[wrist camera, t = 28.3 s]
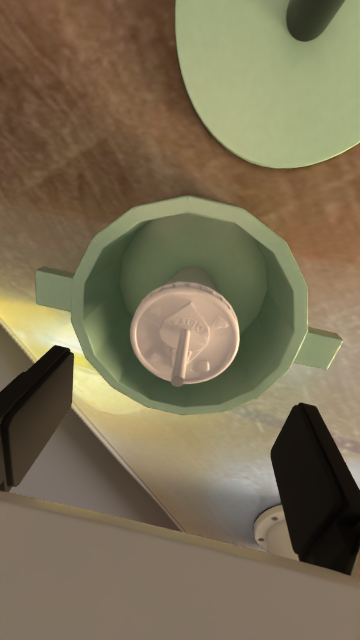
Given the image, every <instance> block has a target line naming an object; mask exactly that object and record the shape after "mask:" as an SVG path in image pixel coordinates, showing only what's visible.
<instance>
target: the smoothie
mask: <svg viewBox="0 0 360 640" xmlns="http://www.w3.org/2000/svg"><path fill="white" fill-rule="evenodd" d="M130 340H131V345H132V348H133V350H134V353H135V355H136V357H137V358H138V360H139V361H140V362H141V363H142V365H143V366H144V367H145V368H146V369H148V370H149V371H150V372H151V373H153V374H154V375H156V376H158V377H160V378H162V379H164V380H167V381H170V382H171V383H172V385H174V386H177V387H179V386H182V385H183V384H193V383H200V382H204V381H207V380H210V379H212V378H214V377H216V376H218V375H219V374H220V373H222V372H223V371H224V370H225V369H226V368H227V367H228V366H229V365H230V364H231V363H232V361H233V359H234V358H235V356H236V353H237V351H238V347H239V326H238V320H237V317H236V315H235V313H234V310H233V308H232V306H231V305H230V304H229V303H228V302H227V301H226V299H225V298H224V297H223V296H222V295H220V294H219V293H218V291H217V289H216V287H215V285H214V283H213V281H212V279H211V278H210V276H209V275H208V274H207V273H206V272H205V271H204V270H202V269H200V268H196V267H188V268H185V269H183V270H181V271H179V272H178V273H177V274H176V275H175V276H174V277H173V278H172V279H171V280H170V281H169V282H168V283H167V284H166V285H163V286H161V287H159V288H157V289H155V290H153V291H152V292H151V293H149V294H148V295H147V296H146V297H145V298H144V299H143V300H142V301H141V303H140V305H139V306H138V308H137V310H136V311H135V315H134V317H133V319H132V322H131V327H130Z"/></svg>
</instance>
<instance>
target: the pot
mask: <svg viewBox="0 0 360 640" xmlns="http://www.w3.org/2000/svg"><path fill="white" fill-rule="evenodd" d="M188 267H196V268H200V269H202V270H204V271H205V272H206V273H207V274H208V275H209V276H210V278H211V279H212V281H213V283H214V285H215V287H216V289H217V291H218V293H219V294H220V295H222V296H223V297H224V298H225V299H226V301H227V302H228V303H229V304H230V305H231V306H232V308H233V310H234V313H235V315H236V317H237V320H238V326H239V347H238V351H237V353H236V356H235V358H234V359H233V361H232V363H231V364H230V365H229V366H228V367H227V368H226V369H225V370H224V371H223V372H222V373H220V374H219V375H218V376H216V377H214V378H212V379H210V380H207V381H204V382H200V383H193V384H183V385H182V386H179V387H177V386H174V385H172V383H171V382H170V381H167V380H164V379H162V378H160V377H158V376H156V375H154V374H153V373H151V372H150V371H149V370H148V369H146V368H145V367H144V366H143V365H142V363H141V362H140V361H139V360H138V358H137V357H136V355H135V353H134V350H133V348H132V345H131V340H130V327H131V322H132V319H133V317H134V315H135V311H136V310H137V308H138V306H139V305H140V303H141V301H142V300H143V299H144V298H145V297H146V296H147V295H148V294H149V293H151V292H152V291H153V290H155V289H157V288H159V287H161V286H163V285H166V284H167V283H168V282H169V281H170V280H171V279H172V278H173V277H174V276H175V275H176V274H177V273H178V272H179V271H181V270H183V269H185V268H188ZM35 281H36V304H38V305H43V306H47V307H52V308H56V309H60V310H65V311H69V312H71V322H72V325H73V328H74V330H75V333H76V335H77V338H78V340H79V343H80V345H81V348H82V350H83V353H84V355H85V358H86V359H87V360H88V361H89V362H90V363H91V365H92V366H93V367H94V368H95V369H96V370H97V371H98V372H99V373H100V375H101V376H102V377H103V378H104V379H105V380H106V381H107V382H108V383H109V385H110V386H111V387H113V388H114V389H116V390H118V391H119V392H121V393H123V394H124V395H126V396H128V397H130V398H131V399H133V400H135V401H137V402H138V403H140V404H142V405H144V406H146V407H148V408H153V409H157V410H162V411H166V412H171V413H175V414H179V415H195V414H209V413H222V412H225V411H227V410H229V409H232V408H234V407H237V406H239V405H242V404H244V403H247V402H249V401H252V400H254V399H257V398H258V397H260V396H261V395H262V394H263V393H264V392H266V391H267V390H268V389H269V388H270V387H271V386H272V385H273V384H274V383H276V382H277V381H278V380H279V379H280V378H281V377H282V376H283V375H285V374H286V373H287V372H288V370H290V367H291V365H292V363H293V362H294V363H298V364H303V365H307V366H311V367H316V368H320V369H325V370H327V369H328V367H329V365H330V364H331V362H332V360H333V358H334V356H335V355H336V353H337V351H338V349H339V347H340V346H341V344H342V342H343V340H342V338H341V337H340V336H339V335H338V334H337V333H333V332H328V331H324V330H320V329H315V328H311V327H308V287H307V284H306V282H305V280H304V278H303V276H302V274H301V271H300V269H299V267H298V265H297V263H296V261H295V259H294V257H293V255H292V253H291V251H290V249H289V247H288V245H287V243H286V241H285V240H283V239H282V238H281V237H279V236H278V235H277V234H276V233H274V232H273V231H272V230H270V229H269V228H268V227H267V226H265V225H264V224H263V223H262V222H260V221H259V220H258V219H256V218H255V217H254V216H253V215H251V214H250V213H249V212H247V211H246V210H245V209H244V208H241V207H238V206H235V205H233V204H230V203H226V202H221V201H217V200H213V199H208V198H204V197H199V196H181V197H176V198H171V199H167V200H162V201H157V202H152V203H148V204H143V205H138V206H134V207H132V208H131V209H129V210H128V211H127V212H125V213H124V214H123V215H121V216H120V217H119V218H117V219H116V220H115V221H114V222H112V223H111V224H110V225H108V226H107V227H106V228H104V229H103V230H102V231H100V232H99V233H98V234H97V235H95V236H94V237H93V238H92V240H91V242H90V244H89V246H88V248H87V250H86V252H85V254H84V256H83V258H82V260H81V262H80V264H79V266H78V268H77V270H76V272H75V273H70V272H66V271H62V270H57V269H53V268H48V267H41V268H39V269H37V270H35Z"/></svg>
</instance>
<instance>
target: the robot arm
mask: <svg viewBox="0 0 360 640" xmlns="http://www.w3.org/2000/svg"><path fill="white" fill-rule="evenodd" d="M73 366H74V354H73V353H72V352H70V349H69V348H66V347H61V346H57V345H55V346H53V347H52V348H51V349H50V350H49V351H48V352H47V353H46V354H45V355H43V356H42V357H41V358H40V359H39V360H38V361H37V362H36V363H35V364H34V365H33V366H32V367H31V368H29V369H28V370H27V371H26V372H23V373H21V374H20V375H18V376H17V377H16V378H15V379H14V380H13V381H12V382H11V383H10V384H9V385H7V386H6V387H5V388H4V389H3V390H2V391H1V392H0V640H360V490H359V488H358V486H357V484H356V482H355V480H354V479H353V477H352V475H351V473H350V471H349V469H348V467H347V465H346V463H345V461H344V459H343V457H342V455H341V453H340V452H339V450H338V448H337V446H336V444H335V442H334V440H333V438H332V436H331V434H330V432H329V430H328V428H327V427H326V425H325V423H324V421H323V419H322V417H321V415H320V413H319V411H318V409H317V408H316V407H315V406H313V405H309V404H304V403H299V404H298V405H295V406H294V407H293V408H292V410H291V412H290V414H289V416H288V418H287V420H286V422H285V424H284V426H283V428H282V430H281V432H280V433H279V435H278V437H277V439H276V441H275V443H274V445H273V447H272V449H271V461H272V465H273V469H274V474H275V478H276V482H277V486H278V490H279V495H280V499H281V503H282V505H278V506H275V507H272V508H270V509H268V510H266V511H265V512H263V513H262V514H261V515H260V516H259V517H258V518H257V520H256V521H255V524H254V534H255V539H256V541H257V543H258V544H259V545H260V547H261V548H263V549H264V550H265V551H267V552H268V553H265V552H261V551H257V550H253V549H249V548H245V547H241V546H237V545H233V544H228V543H224V542H220V541H216V540H212V539H208V538H204V537H200V536H196V535H191V534H187V533H183V532H179V531H175V530H170V529H166V528H162V527H158V526H153V525H150V524H145V523H141V522H137V521H133V520H129V519H124V518H120V517H116V516H111V515H107V514H103V513H98V512H94V511H90V510H85V509H81V508H77V507H73V506H69V505H64V504H60V503H55V502H52V501H47V500H42V499H37V498H33V497H28V496H23V495H19V494H14V493H9V491H10V489H11V488H12V486H14V487H16V486H18V485H19V484H20V482H21V481H22V479H23V477H24V476H25V475H26V473H27V472H28V470H29V469H30V467H31V466H32V464H33V463H34V462H35V460H36V459H37V457H38V456H39V454H40V453H41V451H42V450H43V448H44V447H45V445H46V444H47V442H48V441H49V439H50V438H51V436H52V435H53V433H54V432H55V430H56V429H57V427H58V426H59V424H60V423H61V421H62V420H63V418H64V417H65V415H66V414H67V413H68V411H69V409H70V407H71V404H72V390H73Z"/></svg>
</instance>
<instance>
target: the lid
mask: <svg viewBox="0 0 360 640" xmlns="http://www.w3.org/2000/svg"><path fill="white" fill-rule="evenodd" d="M175 36H176V46H177V55H178V60H179V65H180V70H181V75H182V78H183V81H184V85H185V88H186V91H187V94H188V96H189V99H190V101H191V103H192V105H193V108H194V110H195V112H196V113H197V115H198V117H199V118H200V120H201V122H202V123H203V125H204V126H205V127H206V129H207V130H208V131H209V132H210V134H211V135H212V136H213V137H214V138H215V139H216V140H217V141H218V142H219V143H220V144H221V145H222V146H223V147H224V148H226V149H227V150H228V151H230V152H231V153H233V154H234V155H236V156H237V157H239V158H242V159H244V160H246V161H248V162H250V163H253V164H257V165H260V166H264V167H271V168H296V167H303V166H308V165H312V164H315V163H319V162H322V161H325V160H327V159H330V158H332V157H334V156H337V155H339V154H341V153H343V152H344V151H346V150H348V149H350V148H351V147H353V146H355V145H356V144H358V143H359V142H360V0H176V2H175Z"/></svg>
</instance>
